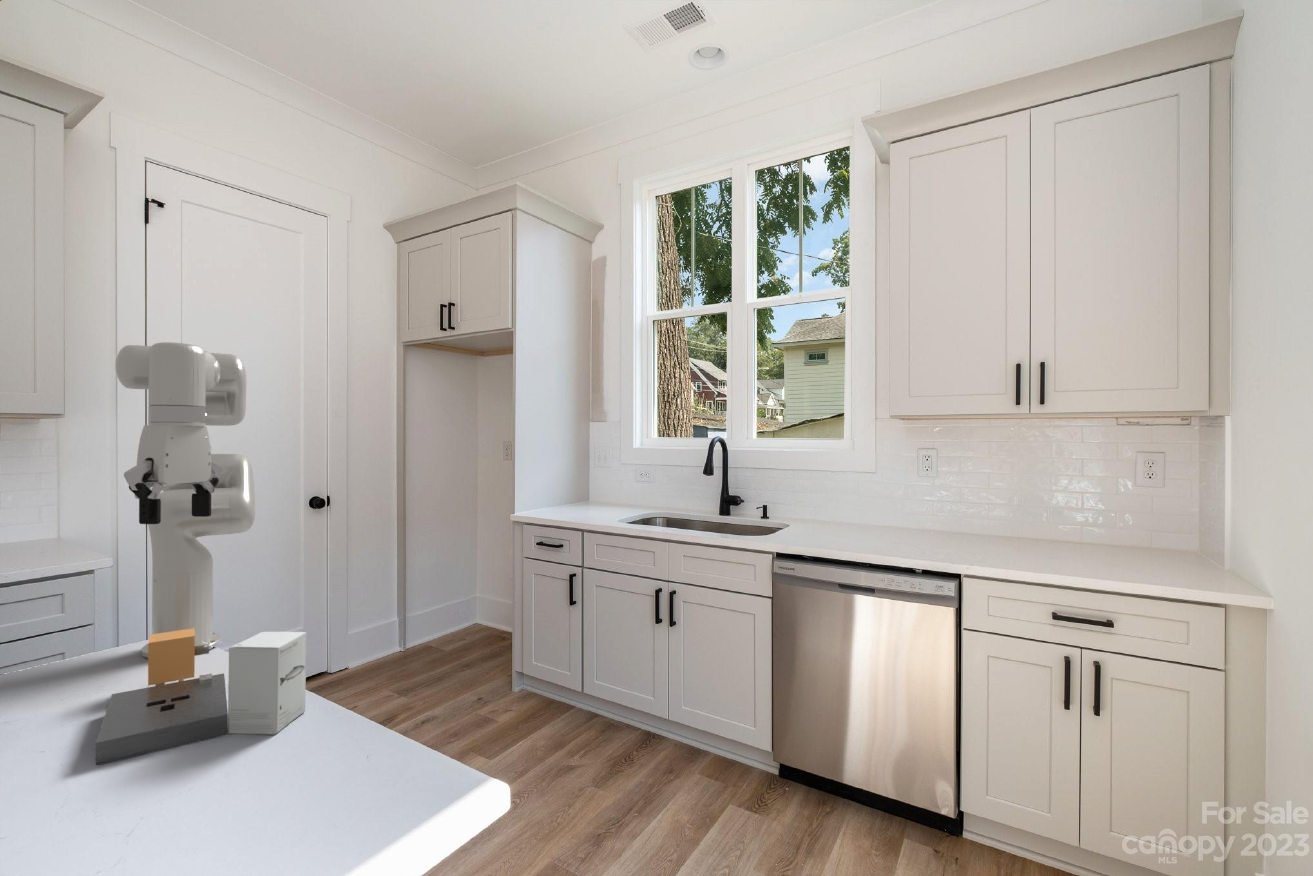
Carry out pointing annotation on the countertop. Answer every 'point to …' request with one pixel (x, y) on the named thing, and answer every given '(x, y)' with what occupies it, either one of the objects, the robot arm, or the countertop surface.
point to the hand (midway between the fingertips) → (176, 519)
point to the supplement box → (266, 682)
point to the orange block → (173, 656)
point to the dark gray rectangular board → (162, 718)
